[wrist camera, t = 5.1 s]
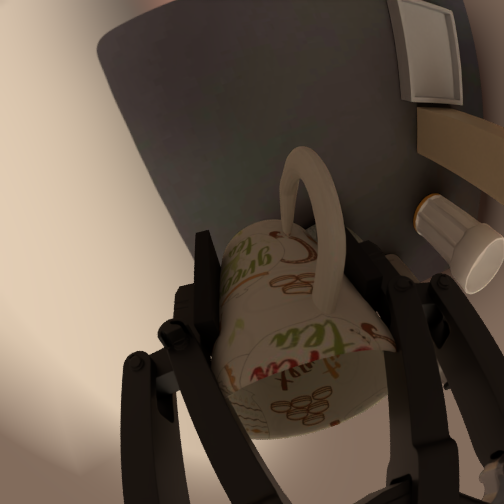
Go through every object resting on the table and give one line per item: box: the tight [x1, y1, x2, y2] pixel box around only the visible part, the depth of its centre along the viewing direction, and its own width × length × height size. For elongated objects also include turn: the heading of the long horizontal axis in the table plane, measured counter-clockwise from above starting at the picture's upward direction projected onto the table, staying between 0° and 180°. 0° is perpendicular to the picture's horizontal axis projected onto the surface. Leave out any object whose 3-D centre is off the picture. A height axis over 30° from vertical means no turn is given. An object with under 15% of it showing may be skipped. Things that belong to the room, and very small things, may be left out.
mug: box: [211, 146, 397, 440], centre depth 12 cm, size 8×13×10 cm, turn 2°
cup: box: [413, 193, 504, 294], centre depth 39 cm, size 11×11×17 cm
